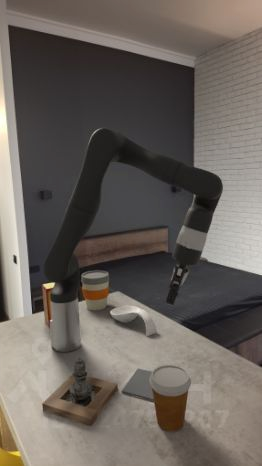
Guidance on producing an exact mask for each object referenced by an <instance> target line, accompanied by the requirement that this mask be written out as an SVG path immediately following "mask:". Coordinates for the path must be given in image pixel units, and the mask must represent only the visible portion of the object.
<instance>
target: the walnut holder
mask: <svg viewBox="0 0 262 466" xmlns="http://www.w3.org/2000/svg"><path fill="white" fill-rule="evenodd" d="M73 374H74V372H72V374H70V376H69V377H68V378H67V379H66V380H65V381H64V382H62V384H60V385H59V387H57V388H56V389H55V390H54V391H53V392H52V393H51V394H50V395H49V396H48V397H47V398H46V399H45V400H44V401H43V402H42V411H43V412H46V413H48V414H52V415H55V416H59V417H61V418H64V419H66V420H70V421H74V422H76V423H78V424H83V425H84V426H88V427H92V426H93V425H94V423H95V422H96V421H97V420H98V418H99V417H100V415H101V413H103V411H104V410H105V408H106V407H107V406H108V404H109V403H110V401H111V400H112V399H113V397H114V396H115V395H116V393H117V392H118V391H119V389H118V387H119V386H118V383H117V382H113V381H109V380H105V379H103V378H102V379H101V378H97V377H95V376H94V377H93V376H89V375H87V376H86V380H87V381H88V382H90V383H91V384H92V390H91V392H93V393H96V394H95V396H94V397H92V401H91V402H90V403H89V405H87V406H81V405H78V404H74V403H72V401H67V399H68V398H69V397H70V396H72V394H71V393H70V387H71V385H72V384H74V383H75V378H74V377H73Z"/></svg>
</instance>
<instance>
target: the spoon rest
mask: <svg viewBox="0 0 262 466" xmlns="http://www.w3.org/2000/svg"><path fill="white" fill-rule="evenodd" d="M109 313H110V315H111V317H112V318H113V319H114V320H116V321H119V322H120V323H131V322H132V321H133V320H136V318H137V317H138V316H139V317H140V318H141V319H142V320H143V321H144V325H145V335H146V337H149V336H151V335H155V334H156V333H157V332H158V329H157V327H156V323H155V321H154V320H153V318H152V317H151V315H150V314H149V313H148V312H147V311H146V310H144V309H142V308H139V307H137V306H135V305H134V306H133V305H121V306H117V307H114V308H113V309H111V310H110V312H109Z"/></svg>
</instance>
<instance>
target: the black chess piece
mask: <svg viewBox="0 0 262 466" xmlns="http://www.w3.org/2000/svg"><path fill="white" fill-rule="evenodd" d="M73 369H74V370H73V371H74V372H73V373H74V374H73V373H72V374H73V377H74V378H75V383H74V384H72V385H71V387H70V393H71V396H72V398H71V403H74V404H78V405H81V406H84V407H87V406H88V405H89V403H90V402H91V401H92V400H93V396H92V395H91V393H92V391H91V390H92V384H91V383H90V382H88V381H87V380H86V376H88V372H87V371H86V362H85V360H83V359H81V357H79V358H78V359H77V360H76V361H75V362H74V363H73Z"/></svg>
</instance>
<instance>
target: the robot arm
mask: <svg viewBox="0 0 262 466" xmlns="http://www.w3.org/2000/svg"><path fill="white" fill-rule="evenodd" d="M111 163H119V164H124V165H128V166H131V167H134V168H136V169H138V170H140V171H142V172H144V173H145V174H147V175H149V176H151V177H153V178H154V179H156V180H158V181H160V182H162V183H165V184H167V185H169V186H172V187H174V188H177V189H181V190H184V191H186V192H188V193H190V194H192V195H194V196H193V200H192V203H191V206H190V207H189V208H188V210H187V212H186V215H185V218H184V221H183V223H182V227H181V228H180V231H179V233H178V236H177V238H176V241H175V245H174V249H173V251H172V254H171V257H172V258H173V259H174V260H176V261H178V264H176V265H174V267H173V271H172V272H173V273H172V274H171V279H170V283H169V286H168V288H169V291H168V294H167V297H166V299H165V303H167V304H169V305H171V306H173V305H174V304H175V302H176V299H177V297H179V293H180V289H181V287H182V286H183V285H184V283H185V282H186V279H187V276H188V275H189V272H190V269H189V266H195V267H196V266H198V265H199V263H200V260H201V258H202V254H203V251H204V249H205V246H206V241H207V238H208V233H209V230H210V227H211V226H212V225H211V224H212V221H213V217H214V213H215V211H216V209H217V208H218V207H217V206H218V205H219V201H220V200H221V197H222V194H223V191H224V186H223V182H222V178H221V177H220V176H219V175H217V174H215V173H214V172H212V171H209V170H205V169H203V168H198V167H195V166H192V165H190V164H187V163H186V162H183V161H180V160H179V159H176V158H173V157H171V156H168V155H167V154H162V153H159V152H157V151H154V150H150V149H148V148H146V147H143V146H141V145H140V144H138V143H136V142H135V141H132V140H131V139H129V138H128V137H126V136H125V135H123V134H122V133H121V132H120V131H117V130H115V129H111V128H108V127H101V128H98V129H96V130H95V131H94V132H93V133H92V134H91V136H90V138H89V142H88V144H87V148H86V150H85V155H84V159H83V163H82V167H81V170H80V172H79V176H78V178H77V181H76V183H75V186H74V189H73V191H72V194H71V197H70V199H69V201H68V203H67V207H66V209H65V213H64V215H63V218H62V221H61V223H60V225H59V229H58V232H57V234H56V237H55V239H54V242H53V243H52V246H51V248H50V250H49V251H48V253H47V255H46V257H45V259H44V261H43V266H42V270H43V271H42V272H43V275H44V277H45V279H46V280H47V281H48V282H49V283H55V285H54V287H53V288H52V290H51V292H50V302H51V315H52V320H50V327H49V330H50V333H49V334H50V344H51V345H50V346H51V347H52V348H53V349H54V350H55V351H57V352H61V353H67V352H68V353H69V352H72V351H76V350H77V349H78V348H80V347H81V345H82V343H81V340H82V339H81V325H80V307H79V292H80V291H79V290H80V284H81V283H80V282H81V279H80V278H81V275H80V262H79V259H78V257H77V255H76V254H75V250H76V249H77V247H78V246H79V244H80V243H81V241H82V240H83V239H84V237H85V236H86V235H87V233H88V232H89V230H90V229H91V227H92V226H93V224H94V222H95V220H96V217H97V214H98V212H99V209H100V208H101V207H100V206H101V201H102V185H103V181H104V177H105V175H106V173H107V170H108V169H109V166H110V164H111Z"/></svg>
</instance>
